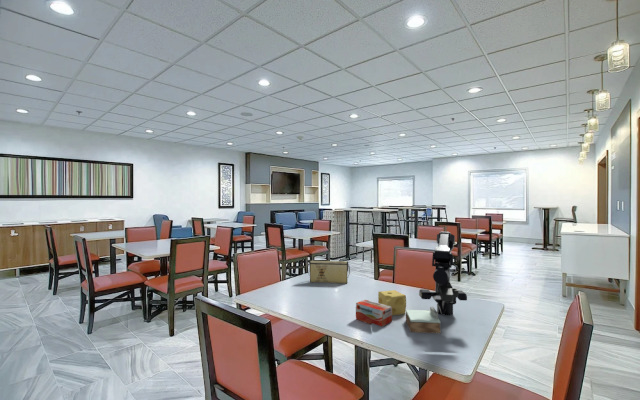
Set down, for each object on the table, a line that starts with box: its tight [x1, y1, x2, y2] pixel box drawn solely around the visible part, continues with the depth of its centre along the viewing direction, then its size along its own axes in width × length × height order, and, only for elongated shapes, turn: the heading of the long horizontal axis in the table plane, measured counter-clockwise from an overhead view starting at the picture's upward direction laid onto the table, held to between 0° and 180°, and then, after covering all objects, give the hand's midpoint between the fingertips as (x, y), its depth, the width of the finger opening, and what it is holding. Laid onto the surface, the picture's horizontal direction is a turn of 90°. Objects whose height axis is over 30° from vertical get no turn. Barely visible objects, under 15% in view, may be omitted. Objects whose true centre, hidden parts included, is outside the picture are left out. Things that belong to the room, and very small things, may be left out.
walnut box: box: [405, 312, 441, 334], centre depth 133 cm, size 12×12×5 cm
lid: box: [405, 306, 441, 324], centre depth 133 cm, size 12×12×3 cm
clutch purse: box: [306, 260, 351, 284], centre depth 211 cm, size 30×7×15 cm, turn 83°
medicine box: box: [355, 299, 393, 327], centre depth 142 cm, size 15×8×8 cm, turn 47°
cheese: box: [377, 289, 407, 316], centre depth 152 cm, size 10×11×10 cm
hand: (442, 314), depth 132 cm, fingers closed
